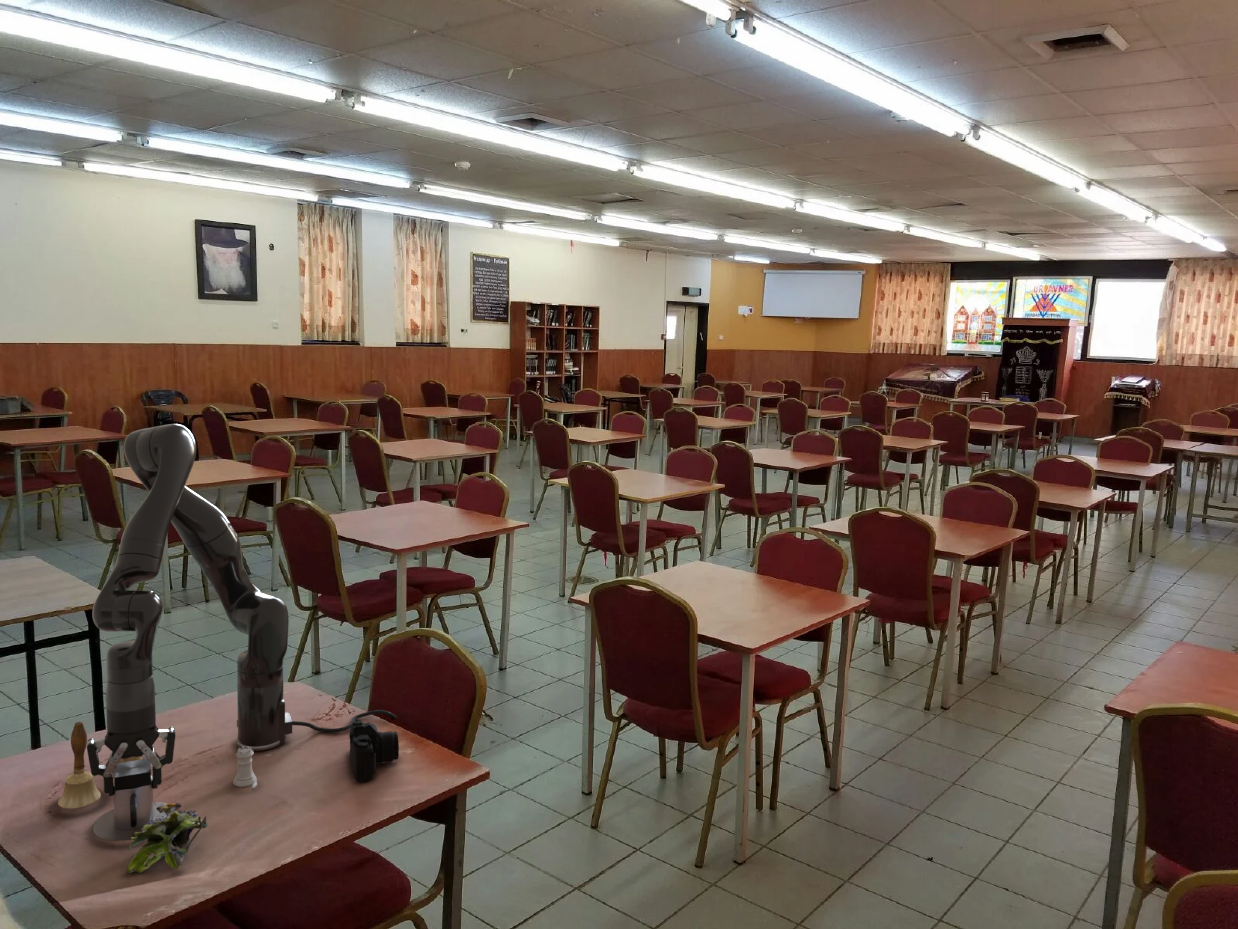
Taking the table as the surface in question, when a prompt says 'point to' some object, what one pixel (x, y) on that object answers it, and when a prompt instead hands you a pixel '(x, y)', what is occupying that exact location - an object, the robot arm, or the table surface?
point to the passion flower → (165, 838)
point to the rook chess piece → (245, 769)
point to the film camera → (370, 749)
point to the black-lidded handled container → (133, 794)
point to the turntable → (109, 831)
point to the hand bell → (79, 775)
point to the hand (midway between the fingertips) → (133, 790)
